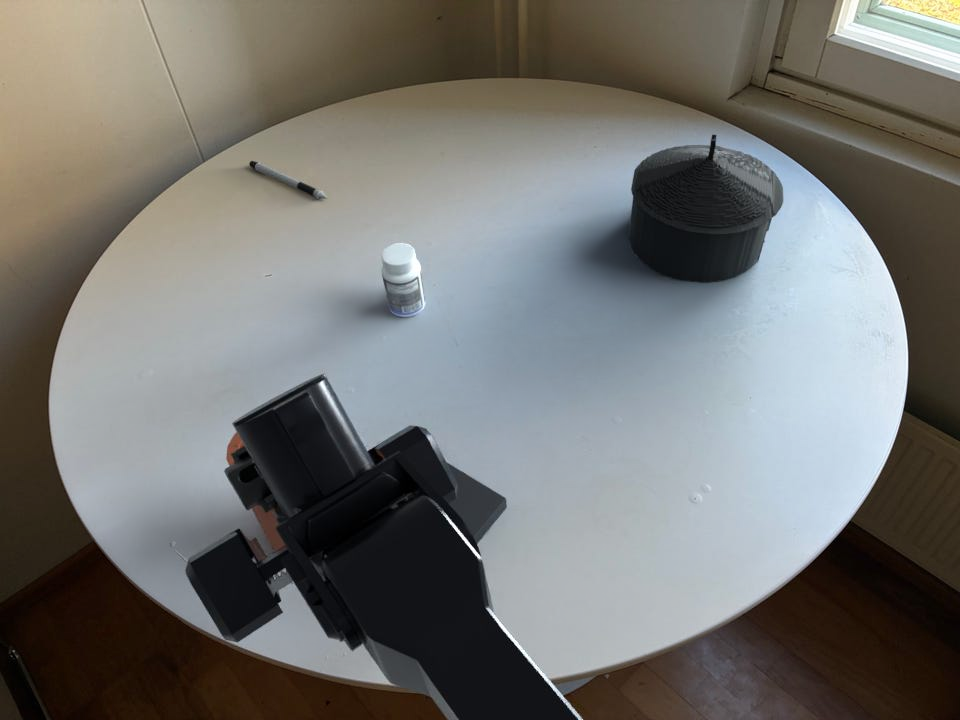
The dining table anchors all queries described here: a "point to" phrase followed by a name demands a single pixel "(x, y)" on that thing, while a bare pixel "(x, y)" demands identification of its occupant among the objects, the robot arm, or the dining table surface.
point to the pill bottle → (403, 280)
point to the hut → (702, 211)
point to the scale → (476, 504)
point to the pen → (287, 180)
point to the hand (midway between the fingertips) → (308, 512)
